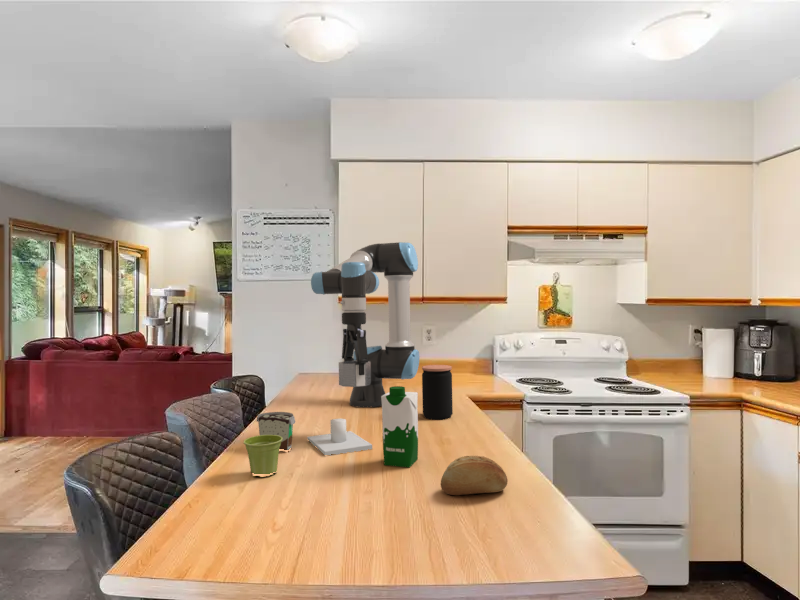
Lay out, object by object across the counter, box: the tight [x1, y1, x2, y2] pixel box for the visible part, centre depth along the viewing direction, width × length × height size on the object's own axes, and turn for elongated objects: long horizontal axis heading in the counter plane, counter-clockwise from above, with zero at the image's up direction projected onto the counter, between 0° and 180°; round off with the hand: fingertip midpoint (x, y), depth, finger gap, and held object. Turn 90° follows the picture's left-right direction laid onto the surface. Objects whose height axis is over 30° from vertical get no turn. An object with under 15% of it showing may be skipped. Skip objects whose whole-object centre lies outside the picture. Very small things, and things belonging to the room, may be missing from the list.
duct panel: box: [306, 418, 373, 456], centre depth 158 cm, size 18×14×7 cm
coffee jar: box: [421, 364, 454, 421], centre depth 192 cm, size 11×11×18 cm
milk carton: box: [381, 385, 419, 468], centre depth 140 cm, size 9×9×20 cm
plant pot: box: [243, 434, 283, 474], centre depth 133 cm, size 9×9×9 cm
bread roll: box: [440, 455, 509, 496], centre depth 118 cm, size 10×15×8 cm, turn 97°
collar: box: [338, 360, 371, 388], centre depth 167 cm, size 9×9×7 cm
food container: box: [256, 411, 296, 450], centre depth 156 cm, size 12×6×10 cm, turn 65°
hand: (354, 383), depth 167 cm, fingers closed on collar, 9 cm apart
